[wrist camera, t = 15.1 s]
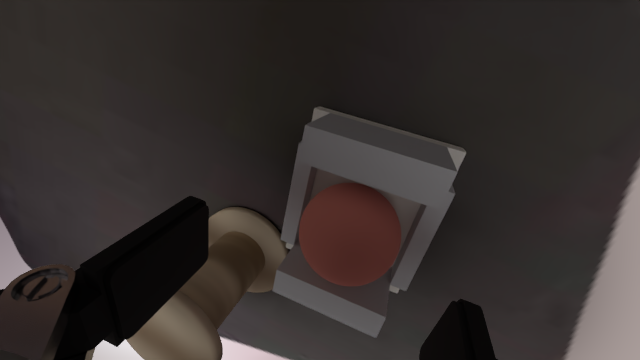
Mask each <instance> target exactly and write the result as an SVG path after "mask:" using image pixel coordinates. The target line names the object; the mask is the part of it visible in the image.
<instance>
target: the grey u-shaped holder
mask: <svg viewBox="0 0 640 360" xmlns="http://www.w3.org/2000/svg"><path fill="white" fill-rule="evenodd" d="M465 155H466V151H465V150H464V148H462V147H458V146H455V145H451V144H448V143H445V142H441V141H438V140H434V139H431V138H427V137H424V136H420V135H417V134H414V133H410V132H407V131H403V130H400V129H396V128H393V127H389V126H386V125H383V124H379V123H376V122H372V121H369V120H365V119H362V118H358V117H355V116H352V115H348V114H345V113H341V112H338V111H334V110H331V109H327V108H324V107H321V106H319V107H316V108H314V112H313V117H312V122H310V123H308V124H306V125H305V128H304V133H303V138H302V141H301V142H300V143H299V145H298V150H297V156H296V161H295V166H294V171H293V176H292V182H291V187H290V192H289V197H288V202H287V208H286V213H285V218H284V223H283V228H282V234H281V239H280V240H282V241H284V242H287V243H286V248H288V249H291V250H290V251H289V253H288V254H287V256H286V257H285V258H284V260H283V261H282V263H281V264H280V266H279V267H278V269H277V271H276V276H275V281H274V286H273V292H276V293H278V294H280V295H282V296H284V297H287V298H289V299H291V300H293V301H295V302H298V303H300V304H302V305H304V306H306V307H309V308H311V309H313V310H315V311H317V312H320V313H322V314H324V315H326V316H328V317H330V318H333V319H335V320H337V321H339V322H341V323H344V324H346V325H348V326H350V327H352V328H355V329H357V330H359V331H361V332H363V333H366V334H368V335H370V336H372V337H374V338H376V337H377V335H378V333H379V331H380V329H381V327H382V325H383V323H384V321H385V319H386V315H387V306H388V298H389V290H390V291H392V292H394V293H398V291H399V289H401V290H404V291H406V290H407V288H408V286H409V284H410V282H411V280H412V278H413V276H414V274H415V272H416V271H417V269H418V267H419V265H420V263H421V261H422V259H423V257H424V255H425V253H426V251H427V249H428V247H429V245H430V243H431V241H432V239H433V237H434V235H435V233H436V231H437V229H438V227H439V225H440V223H441V221H442V219H443V217H444V215H445V214H446V212H447V210H448V208H449V206H450V204H451V202H452V200H453V198H454V196H455V191H454V188H453V185H452V183H453V181H454V179H455V177H456V175H457V173H458V169H459V167H460V165H461V163H462V161H463V159H464V157H465ZM340 183H359V184H363V185H366V186H368V187H371V188H373V189H375V190H376V191H378V192H379V193H381V194H382V195H383V196H384V197H385V198H386V199H387V200H388V201H389V202H390V204H391V205H392V206H393V208H394V210H395V211H396V214H397V216H398V219H399V222H400V226H401V244H400V249H399V253H398V255H397V258H396V260H395V261H394V263H393V265H392V266H391V267H390V268H389V270H388V271H387V272H386V273H385V274H384V275H383V276H381V277H380V278H378V279H377V280H375V281H373V282H371V283H368V284H365V285H361V286H341V285H337V284H334V283H331V282H329V281H327V280H325V279H324V278H322V277H321V276H319V275H318V274H317V273H316V272H315V271H314V270H313V269H312V268H311V267H310V265H309V264H308V262H307V261H306V259H305V257H304V255H303V253H302V250H301V246H300V241H299V226H300V220H301V217H302V214H303V212H304V210H305V208H306V206H307V205H308V203H309V202H310V201H311V200H312V199H313V198H314V196H316V195H317V194H318V193H319V192H320V191H322V190H324V189H326V188H327V187H330V186H332V185H335V184H340Z"/></svg>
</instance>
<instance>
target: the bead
mask: <svg viewBox="0 0 640 360" xmlns="http://www.w3.org/2000/svg"><path fill="white" fill-rule="evenodd" d="M299 241H300V246H301V250H302V253H303V255H304V257H305V259H306V261H307V262H308V264H309V265H310V267H311V268H312V269H313V270H314V271H315V272H316V273H317V274H318V275H319V276H321V277H322V278H324V279H325V280H327V281H329V282H331V283H334V284H337V285H341V286H361V285H365V284H368V283H371V282H373V281H375V280H377V279H378V278H380V277H381V276H383V275H384V274H385V273H386V272H387V271H388V270H389V268H390V267H391V266H392V265H393V263H394V261H395V260H396V258H397V255H398V253H399V249H400V244H401V226H400V222H399V219H398V216H397V214H396V211H395V210H394V208H393V206H392V205H391V204H390V202H389V201H388V200H387V199H386V198H385V197H384V196H383V195H382V194H381V193H379V192H378V191H376V190H375V189H373V188H371V187H368V186H366V185H363V184H359V183H340V184H335V185H332V186H330V187H327V188H326V189H324V190H322V191H320V192H319V193H318V194H317V195H316V196H314V198H313V199H312V200H311V201H310V202H309V203H308V205H307V206H306V208H305V210H304V212H303V214H302V217H301V220H300V226H299Z"/></svg>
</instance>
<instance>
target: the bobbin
mask: <svg viewBox="0 0 640 360" xmlns="http://www.w3.org/2000/svg"><path fill="white" fill-rule="evenodd" d="M280 239H281V234H280V232H279V231H278V229H277V228H276V227H275V226H274V225H273V224H272V223H271V222H270V221H269V220H267V219H266V218H265V217H263V216H262V215H260V214H259V213H257V212H255V211H252V210H250V209H247V208H242V207H228V208H224V209H222V210H220V211H218V212H217V213H215V214H214V215H213V216H211V217H210V218H209V255H208V259H207V261H206V263H205V264H204V265H203V266H202V267H201V268H200V269H199V270H198V271H197V272H196V273H195V274H194V275H193V276H192V277H191V278H190V279H189V280H188V281H187V282H186V283H185V284H184V285H183V286H182V287H181V288H180V289H179V290H178V291H177V292H176V293H175V294H174V295H173V296H172V297H171V298H170V299H169V300H168V301H167V302H166V303H165V304H164V305H163V306H162V307H161V308H160V309H159V310H158V311H157V312H156V313H155V314H154V316H153V317H152V318H151V319H150V320H149V321H148V322H147V323H146V324H145V325H144V326H143V327H142V328H141V329H140V330H139V331H138V332H137V333H136V334H135V335H134V336H132V337H131V338H129V339H126V340H127V341H128V343H129V344H130V345H131V346H132V347H133V349H134V350H135V351H136V352H137V353H138V354H139V355H140V356H141V357H142V358H143V359H145V360H221V358H222V343H221V340H220V337H219V334H218V332H217V329H218V328H219V326H220V325H221V324H222V322H223V321H224V320H225V318H226V317H227V316H228V315H229V313H230V312H231V311H232V309H233V308H234V307H235V305H236V304H237V303H238V302H239V300H240V299H241V298H242V296H243V295H244V294H245V292H246V291H248V292H254V293H262V292H267V291H270V290H272V289H273V286H274V281H275V276H276V271H277V269H278V267H279V266H280V264H281V263H282V261H283V260H284V258H285V257H286V256H287V254H288V253H289V251H288V248H286V243H285V242H284V241H282V240H280Z"/></svg>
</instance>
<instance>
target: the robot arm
mask: <svg viewBox="0 0 640 360" xmlns="http://www.w3.org/2000/svg"><path fill="white" fill-rule="evenodd" d="M208 255H209V209H208V206H206V202H205V201H203V200H201V199H198V198H196V197H193V196H189V197H187V198H185V199H183V200H182V201H180V202H179V203H177V204H176V205H174V206H172V207H171V208H169V209H168V210H166V211H164V212H163V213H161V214H160V215H158V216H157V217H155V218H153V219H152V220H150V221H149V222H147V223H146V224H144V225H142V226H141V227H139V228H138V229H136V230H134V231H133V232H131V233H130V234H128V235H127V236H125V237H123V238H122V239H120V240H119V241H117V242H116V243H114V244H112V245H111V246H109V247H108V248H106V249H104V250H103V251H101V252H100V253H98V254H97V255H95V256H93V257H92V258H90V259H89V260H87V261H85V262H84V263H82V264H81V265H80V267H81V268H79V269H77V270H76V271H74V269H73V268H71V267H70V266H68V265H63V264H51V265H46V266H41V267H38V268H35V269H32V270H30V271H28V272H26V273H24V274H22V275H20V276H19V277H17V278H16V279H14V280H13V281H12V282H11V283H10V284H9V285H8V286H7V287H6V288H5V289H2V290H0V360H92V357H93V353H94V350H95V347H96V346H97V345H98V344H99V343H100V342H101V341H102V340H105V341H107V342H109V343H111V344H113V345H114V346H116V347H117V346H118V345H120V344H121V343H122V342H123V341H124V340H125V339H129V338H131V337H132V336H134V335H135V334H136V333H137V332H138V331H139V330H140V329H141V328H142V327H143V326H144V325H145V324H146V323H147V322H148V321H149V320H150V319H151V318H152V317H153V316H154V314H155V313H156V312H157V311H158V310H159V309H160V308H161V307H162V306H163V305H164V304H165V303H166V302H167V301H168V300H169V299H170V298H171V297H172V296H173V295H174V294H175V293H176V292H177V291H178V290H179V289H180V288H181V287H182V286H183V285H184V284H185V283H186V282H187V281H188V280H189V279H190V278H191V277H192V276H193V275H194V274H195V273H196V272H197V271H198V270H199V269H200V268H201V267H202V266H203V265H204V264H205V263H206V261H207V259H208ZM419 360H498V359H496V358H495V354H494V351H493V347H492V344H491V340H490V336H489V333H488V329H487V325H486V322H485V318H484V315H483V311H482V309H481V307H480V306H478V305H476V304H473V303H471V302H468V301H465V300H463V299H460V300H458V301H457V302H455V301H452V302H451V303H450V305H449V306H448V308H447V309H446V311H445V312H444V314H443V315H442V317H441V318H440V320H439V321H438V323H437V324H436V326H435V327H434V329H433V330H432V332H431V333H430V335H429V336H428V337H427V339H426V340H425V342H424V343H423V345H422V347H421V350H420V355H419Z"/></svg>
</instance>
